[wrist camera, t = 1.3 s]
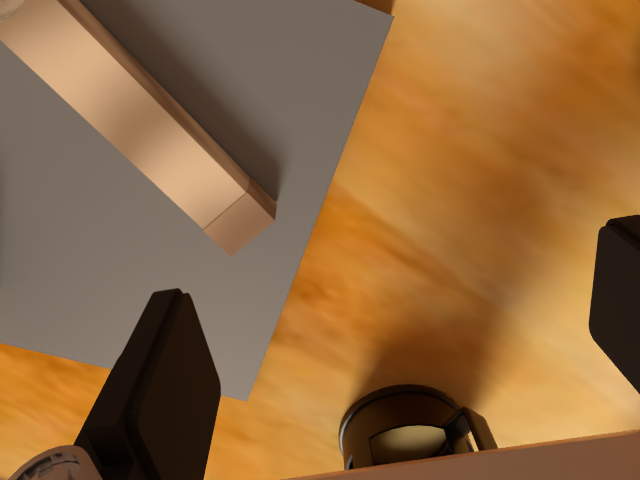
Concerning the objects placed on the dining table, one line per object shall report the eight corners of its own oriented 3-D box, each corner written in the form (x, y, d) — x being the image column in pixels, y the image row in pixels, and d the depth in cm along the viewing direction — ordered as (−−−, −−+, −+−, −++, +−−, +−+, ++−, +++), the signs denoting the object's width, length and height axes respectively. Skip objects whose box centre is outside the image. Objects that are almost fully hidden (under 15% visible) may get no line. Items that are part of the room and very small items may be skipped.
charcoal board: (-79, -174, 20) (-98, -182, 19) (390, 16, 23) (394, 16, 23) (-81, 311, 30) (-93, 320, 29) (248, 390, 33) (247, 401, 33)
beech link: (-74, -39, 21) (-115, -45, 19) (-15, -120, 20) (-52, -134, 18) (228, 244, 27) (222, 264, 25) (286, 196, 26) (284, 212, 24)
